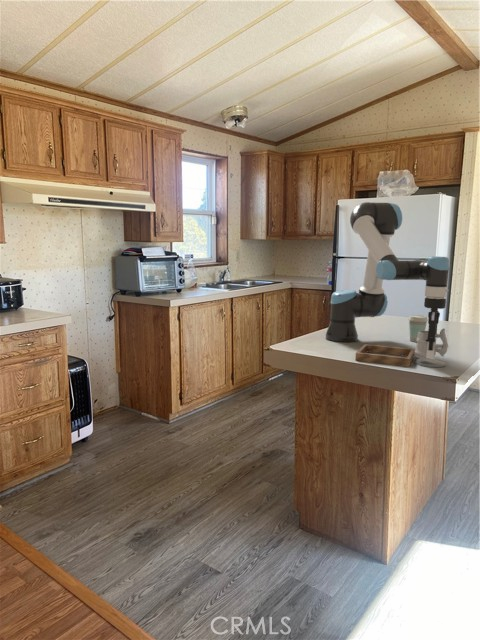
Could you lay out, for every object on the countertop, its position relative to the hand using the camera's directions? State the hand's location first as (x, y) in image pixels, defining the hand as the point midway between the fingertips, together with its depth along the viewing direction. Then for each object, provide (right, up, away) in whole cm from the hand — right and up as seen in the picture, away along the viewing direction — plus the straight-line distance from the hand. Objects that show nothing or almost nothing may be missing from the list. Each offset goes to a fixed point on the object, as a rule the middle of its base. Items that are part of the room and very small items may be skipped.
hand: (430, 356), depth 186 cm
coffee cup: (+10, +4, +44) cm, 45 cm away
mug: (0, -1, 0) cm, 1 cm away
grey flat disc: (0, -3, 0) cm, 3 cm away
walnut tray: (-15, -1, +8) cm, 17 cm away
